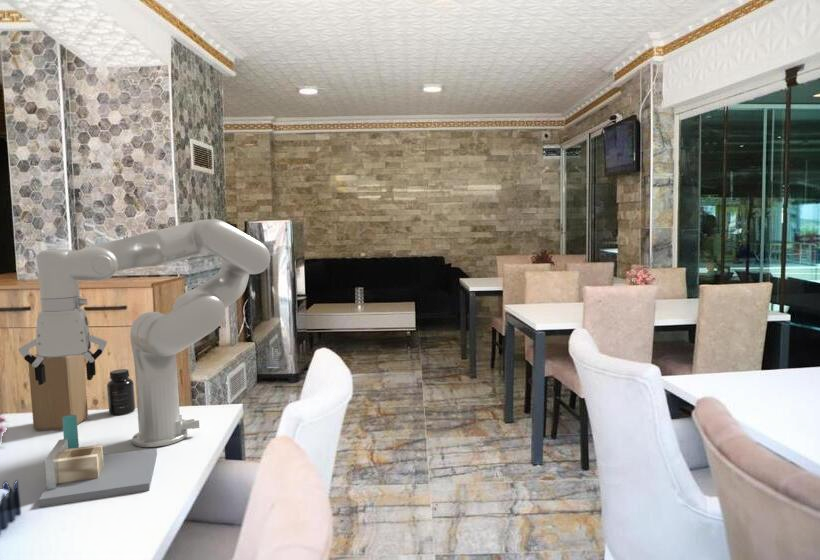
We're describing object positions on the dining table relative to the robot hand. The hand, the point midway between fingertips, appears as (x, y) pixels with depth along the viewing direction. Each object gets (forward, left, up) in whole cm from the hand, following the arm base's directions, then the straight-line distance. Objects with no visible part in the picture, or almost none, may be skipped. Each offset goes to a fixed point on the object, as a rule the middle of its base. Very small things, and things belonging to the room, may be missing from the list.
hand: (66, 381), depth 132 cm
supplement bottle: (-6, -35, -18) cm, 40 cm away
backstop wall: (0, +14, -17) cm, 22 cm away
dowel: (0, 0, -18) cm, 18 cm away
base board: (-9, +14, -18) cm, 25 cm away
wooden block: (+8, -29, -18) cm, 35 cm away
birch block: (-5, +14, -17) cm, 22 cm away
